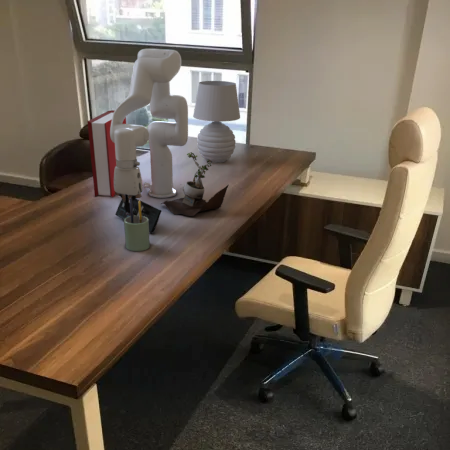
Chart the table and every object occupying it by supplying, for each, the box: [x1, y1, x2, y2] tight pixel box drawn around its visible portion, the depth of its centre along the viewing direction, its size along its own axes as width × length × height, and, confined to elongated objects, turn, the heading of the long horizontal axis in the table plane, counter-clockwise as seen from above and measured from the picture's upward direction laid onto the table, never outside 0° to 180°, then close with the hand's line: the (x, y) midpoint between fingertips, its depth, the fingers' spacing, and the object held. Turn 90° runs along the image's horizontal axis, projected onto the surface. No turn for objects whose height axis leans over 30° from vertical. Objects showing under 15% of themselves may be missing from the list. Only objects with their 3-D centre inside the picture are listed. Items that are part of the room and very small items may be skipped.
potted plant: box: [160, 151, 230, 217], centre depth 214 cm, size 20×19×25 cm
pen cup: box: [123, 198, 151, 252], centre depth 179 cm, size 8×8×18 cm
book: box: [87, 109, 127, 198], centre depth 233 cm, size 27×8×32 cm, turn 172°
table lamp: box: [192, 80, 241, 163], centre depth 279 cm, size 25×25×40 cm
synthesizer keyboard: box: [114, 195, 162, 234], centre depth 199 cm, size 22×10×10 cm
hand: (129, 211), depth 199 cm, fingers closed
